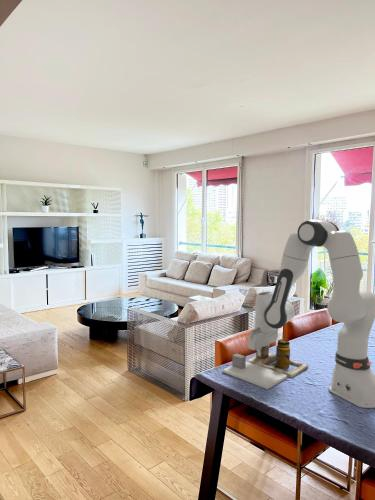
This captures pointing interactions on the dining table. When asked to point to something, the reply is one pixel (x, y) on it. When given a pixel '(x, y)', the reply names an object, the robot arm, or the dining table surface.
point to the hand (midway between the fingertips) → (262, 354)
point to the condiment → (282, 355)
